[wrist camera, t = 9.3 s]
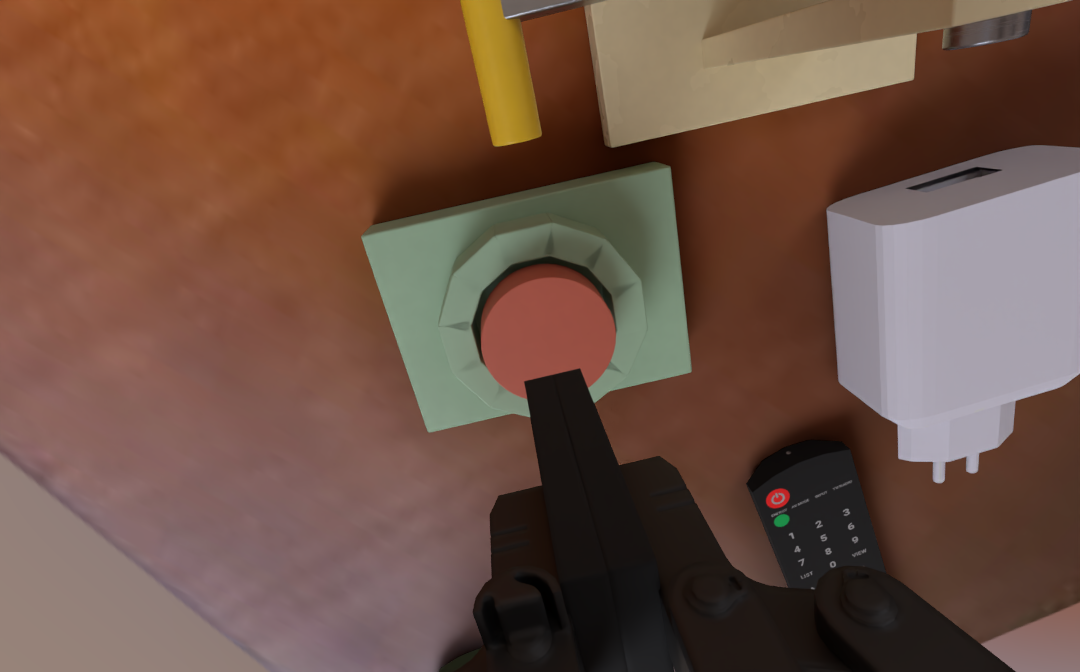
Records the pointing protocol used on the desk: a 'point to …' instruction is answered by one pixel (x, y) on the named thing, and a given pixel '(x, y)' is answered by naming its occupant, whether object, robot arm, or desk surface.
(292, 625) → the desk surface
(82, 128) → the desk surface
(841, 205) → the charger
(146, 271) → the desk surface
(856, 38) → the bracket
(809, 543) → the remote control
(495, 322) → the button
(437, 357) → the button box
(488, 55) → the t-handle lever
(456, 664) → the character mug
